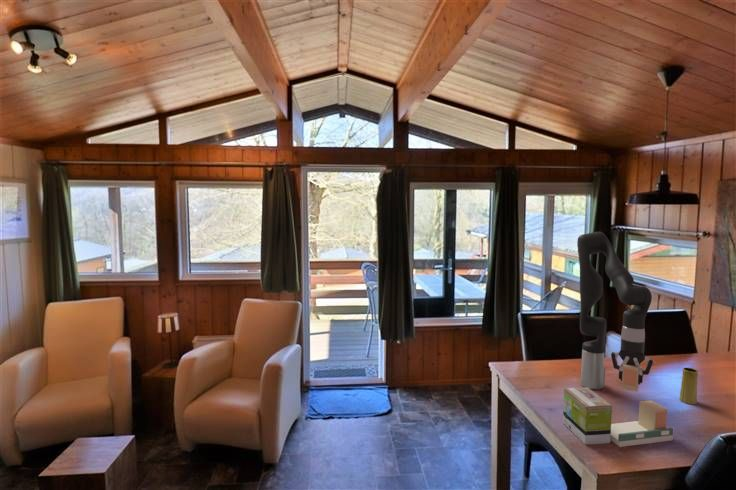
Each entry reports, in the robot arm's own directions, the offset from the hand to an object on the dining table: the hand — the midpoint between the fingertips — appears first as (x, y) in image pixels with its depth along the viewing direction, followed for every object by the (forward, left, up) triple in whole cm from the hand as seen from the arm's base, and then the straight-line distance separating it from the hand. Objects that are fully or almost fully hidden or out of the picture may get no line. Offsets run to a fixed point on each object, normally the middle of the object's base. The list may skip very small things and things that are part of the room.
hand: (630, 381), depth 160 cm
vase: (-42, -13, -18) cm, 48 cm away
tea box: (+19, +1, -18) cm, 27 cm away
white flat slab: (+3, +6, -18) cm, 19 cm away
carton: (0, 0, -2) cm, 2 cm away
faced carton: (-5, +6, -16) cm, 18 cm away
